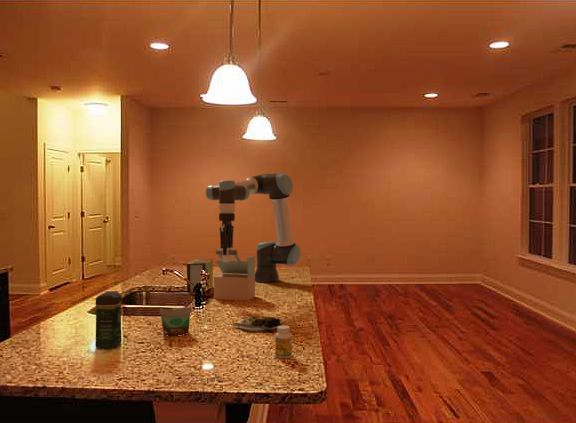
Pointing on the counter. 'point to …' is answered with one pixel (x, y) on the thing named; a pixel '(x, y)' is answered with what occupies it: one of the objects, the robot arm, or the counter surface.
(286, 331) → the supplement bottle
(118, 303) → the coffee jar
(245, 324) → the salad plate
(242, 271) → the flap
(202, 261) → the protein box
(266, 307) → the counter surface
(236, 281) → the carton
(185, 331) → the food container
